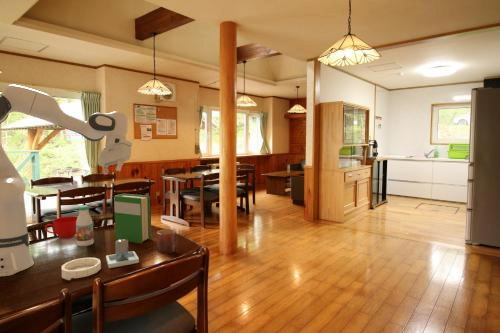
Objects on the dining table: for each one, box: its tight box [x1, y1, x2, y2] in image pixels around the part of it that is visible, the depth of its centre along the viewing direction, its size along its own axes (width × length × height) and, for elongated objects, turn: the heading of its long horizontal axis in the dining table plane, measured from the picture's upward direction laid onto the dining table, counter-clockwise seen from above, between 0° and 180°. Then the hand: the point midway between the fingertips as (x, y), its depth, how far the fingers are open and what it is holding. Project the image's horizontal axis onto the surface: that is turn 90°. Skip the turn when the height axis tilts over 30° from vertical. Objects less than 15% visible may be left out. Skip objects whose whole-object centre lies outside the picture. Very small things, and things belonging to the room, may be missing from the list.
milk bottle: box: [75, 205, 95, 247], centre depth 163 cm, size 8×8×20 cm
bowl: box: [61, 257, 102, 281], centre depth 129 cm, size 14×14×4 cm
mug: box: [156, 228, 176, 255], centre depth 153 cm, size 12×9×10 cm
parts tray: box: [105, 250, 140, 269], centre depth 139 cm, size 12×11×2 cm
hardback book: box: [113, 193, 152, 244], centre depth 171 cm, size 18×7×24 cm, turn 68°
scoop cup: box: [114, 239, 129, 262], centre depth 139 cm, size 5×5×10 cm
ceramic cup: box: [44, 216, 78, 240], centre depth 174 cm, size 13×17×10 cm
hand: (111, 172), depth 146 cm, fingers open, 8 cm apart
